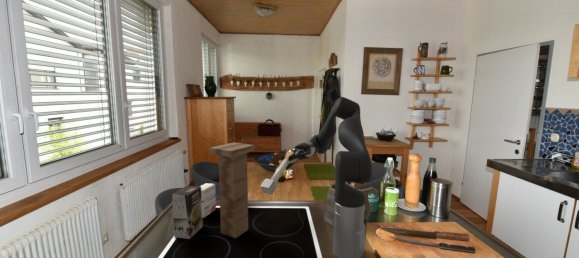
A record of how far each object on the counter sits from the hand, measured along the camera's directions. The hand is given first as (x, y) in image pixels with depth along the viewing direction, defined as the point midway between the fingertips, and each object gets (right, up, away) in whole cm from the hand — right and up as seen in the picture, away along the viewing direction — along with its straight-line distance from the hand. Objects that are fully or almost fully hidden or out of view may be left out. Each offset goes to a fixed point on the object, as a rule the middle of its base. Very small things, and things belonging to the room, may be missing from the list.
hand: (286, 157), depth 114 cm
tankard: (+26, -25, -8) cm, 37 cm away
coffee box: (-35, -26, -17) cm, 47 cm away
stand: (-19, -25, -16) cm, 35 cm away
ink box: (-34, -23, -1) cm, 41 cm away
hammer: (-3, -7, -3) cm, 8 cm away
